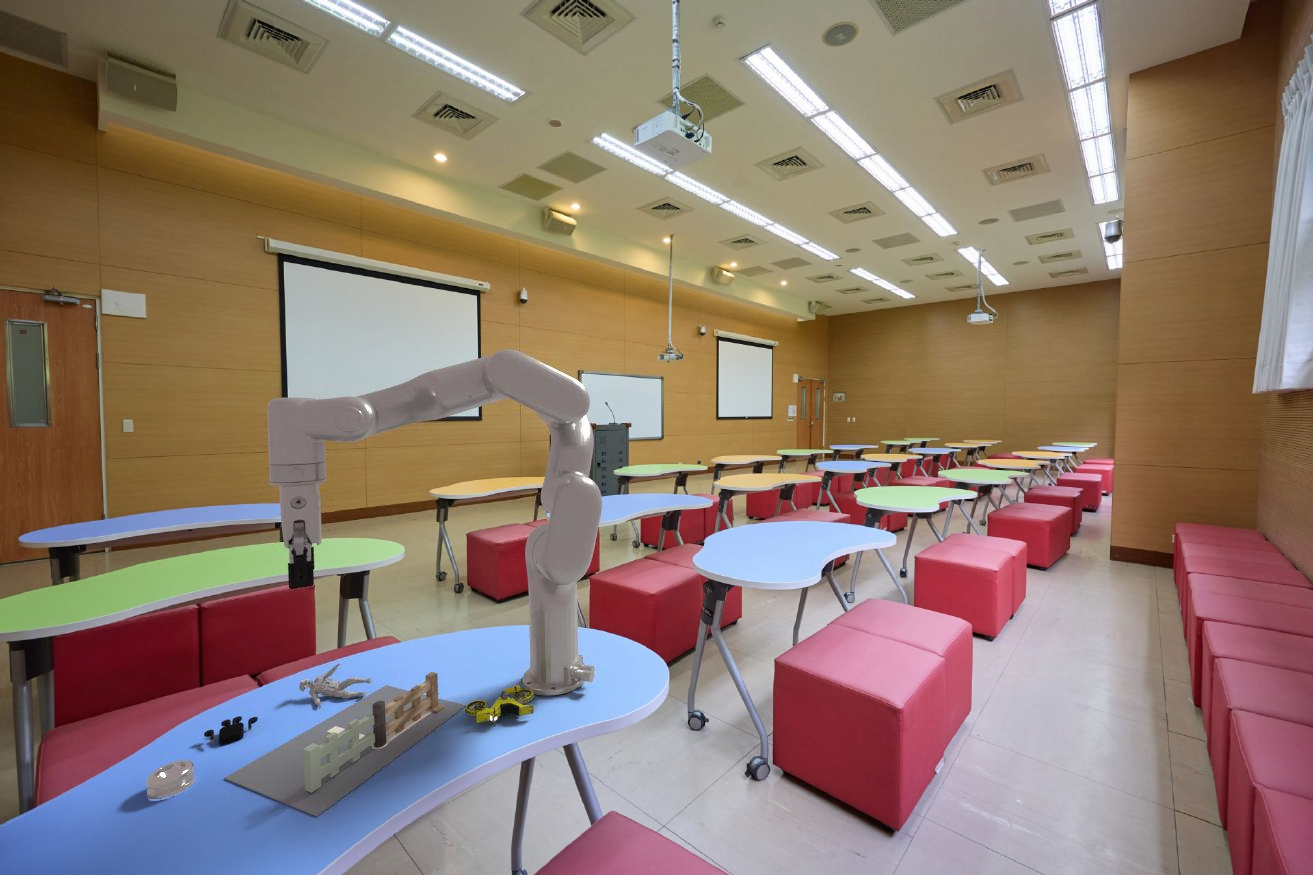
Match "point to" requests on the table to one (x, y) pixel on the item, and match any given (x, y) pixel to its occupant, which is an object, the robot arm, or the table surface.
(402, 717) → the fence fixed section
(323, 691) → the soldier figure
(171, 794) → the grooved metal pulley
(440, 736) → the table surface
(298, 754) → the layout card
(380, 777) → the table surface
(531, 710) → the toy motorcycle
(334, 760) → the fence swing section
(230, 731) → the wireless earbuds
